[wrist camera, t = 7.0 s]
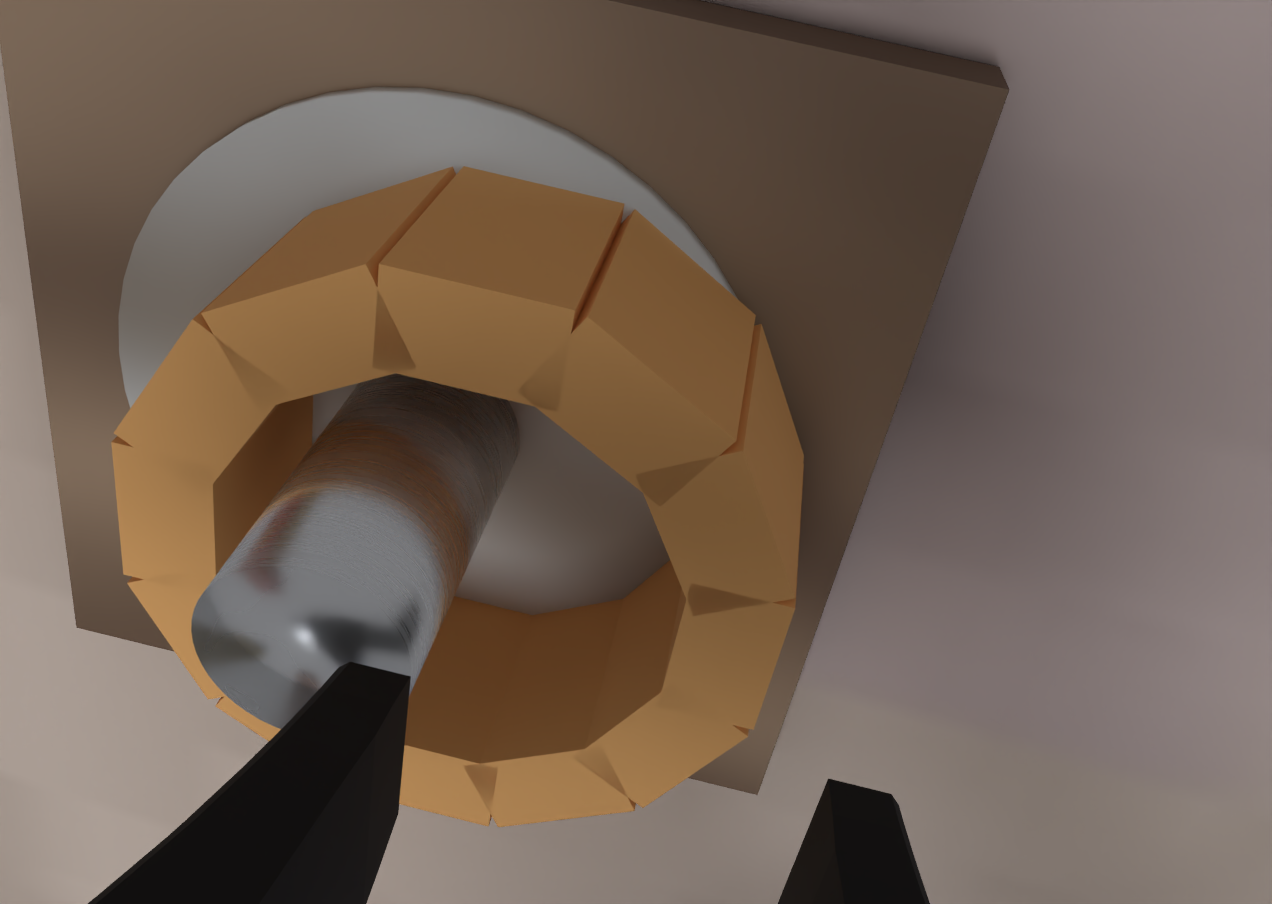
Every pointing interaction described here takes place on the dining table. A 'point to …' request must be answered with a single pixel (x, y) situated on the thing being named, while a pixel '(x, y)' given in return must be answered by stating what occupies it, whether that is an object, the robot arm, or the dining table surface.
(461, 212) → the wooden ring
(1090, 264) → the dining table surface
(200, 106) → the walnut base plate
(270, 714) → the steel shaft
